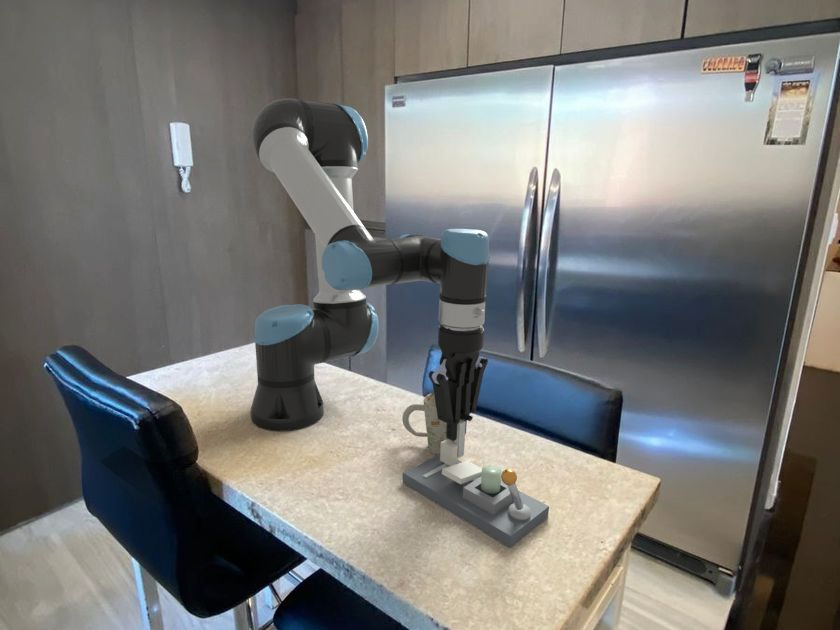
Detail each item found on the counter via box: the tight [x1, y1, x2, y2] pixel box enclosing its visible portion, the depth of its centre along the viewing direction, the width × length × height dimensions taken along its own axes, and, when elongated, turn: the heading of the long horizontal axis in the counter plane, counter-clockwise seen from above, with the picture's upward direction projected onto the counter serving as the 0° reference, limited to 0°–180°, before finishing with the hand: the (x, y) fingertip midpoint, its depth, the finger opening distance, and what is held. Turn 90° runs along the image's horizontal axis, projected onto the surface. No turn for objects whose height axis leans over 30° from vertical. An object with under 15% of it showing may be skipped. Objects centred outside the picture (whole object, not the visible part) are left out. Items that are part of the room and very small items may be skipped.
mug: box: [401, 392, 447, 455], centre depth 99 cm, size 8×13×10 cm, turn 78°
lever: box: [501, 468, 523, 510], centre depth 74 cm, size 2×2×8 cm
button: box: [481, 465, 503, 494], centre depth 80 cm, size 3×3×3 cm
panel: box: [402, 454, 550, 549], centre depth 83 cm, size 22×10×4 cm, turn 45°
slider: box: [440, 440, 458, 466], centre depth 89 cm, size 3×1×4 cm, turn 45°
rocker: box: [442, 460, 483, 484], centre depth 84 cm, size 4×6×1 cm, turn 135°
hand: (455, 453), depth 91 cm, fingers closed
